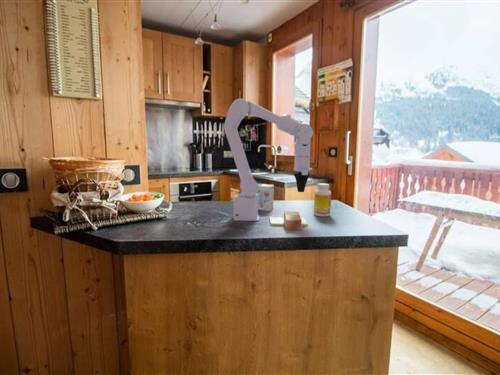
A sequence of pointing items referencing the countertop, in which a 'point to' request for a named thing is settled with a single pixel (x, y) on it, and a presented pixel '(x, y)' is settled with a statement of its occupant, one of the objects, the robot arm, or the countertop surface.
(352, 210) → the countertop surface
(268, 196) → the light bulb box
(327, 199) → the supplement bottle
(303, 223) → the sage board
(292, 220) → the beech block
